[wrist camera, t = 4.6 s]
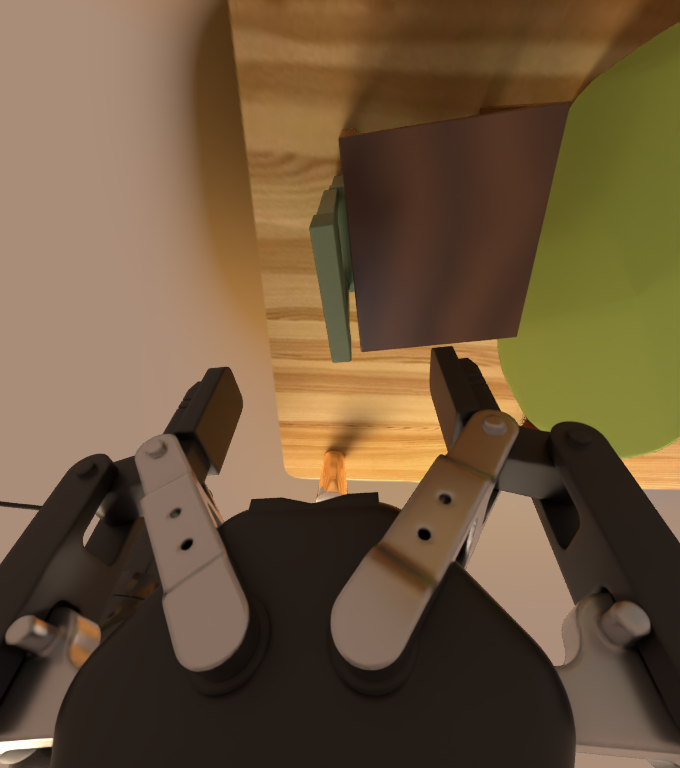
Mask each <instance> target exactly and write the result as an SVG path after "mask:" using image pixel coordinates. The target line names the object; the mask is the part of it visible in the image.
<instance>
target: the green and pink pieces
mask: <svg viewBox="0 0 680 768" xmlns="http://www.w3.org/2000/svg"><path fill="white" fill-rule="evenodd" d="M497 342H498V353H499V358H500V364H501V368H502V371H503V374H504V376H505V379H506V381H507V383H508V385H509V387H510V390H511V392H512V393H513V395H514V397H515V399H516V401H517V402H518V404H519V406H520V408H521V409H522V411H523V413H524V414H525V416H526V417H527V419H528V420H529V421H530V422H531V423H533V424H534V425H535V426H536V427H537V428H538V429H539V430H542V431H548V432H550V431H551V429H552V427H553V426H554V425H556V424H557V423H560V422H565V421H574V422H580V423H583V424H586V425H589V426H591V427H593V428H595V429H596V430H598V431H599V432H600V433H602V434H603V435H604V437H605V438H606V439H607V440H608V442H609V443H610V445H611V446H612V448H613V449H614V450H615V452H616V453H617V455H618V456H619V457H620V458H621V459H630V458H634V457H638V456H642V455H646V454H650V453H653V452H656V451H659V450H661V449H663V448H665V447H667V446H669V445H670V444H672V443H674V442H676V441H677V440H679V439H680V22H678V23H676V24H675V25H673V26H671V27H670V28H668V29H666V30H664V31H663V32H661V33H660V34H658V35H656V36H655V37H653V38H652V39H650V40H649V41H647V42H646V43H644V44H643V45H641V46H640V47H638V48H637V49H636V50H634V51H633V52H631V53H630V54H629V55H627V56H626V57H624V58H623V59H622V60H620V61H619V62H618V63H616V64H615V65H613V66H612V67H611V68H609V69H608V70H607V71H605V72H604V73H602V74H601V75H600V76H598V77H597V78H596V79H594V80H593V81H592V82H591V83H590V84H589V85H588V86H587V87H586V88H585V89H584V90H583V91H582V92H581V93H580V94H579V96H578V97H577V98H576V100H575V101H574V102H573V104H572V105H571V107H570V109H569V112H568V116H567V121H566V125H565V129H564V134H563V138H562V142H561V147H560V151H559V155H558V160H557V164H556V169H555V173H554V177H553V182H552V186H551V190H550V195H549V199H548V203H547V208H546V212H545V217H544V221H543V225H542V230H541V234H540V238H539V243H538V247H537V251H536V256H535V260H534V264H533V269H532V273H531V278H530V282H529V286H528V291H527V295H526V299H525V304H524V308H523V312H522V317H521V321H520V326H519V330H518V334H517V337H513V338H502V339H498V340H497Z"/></svg>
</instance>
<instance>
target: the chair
mask: <svg viewBox="0 0 680 768" xmlns="http://www.w3.org/2000/svg"><path fill="white" fill-rule="evenodd" d="M309 230H310V235H311V241H312V247H313V253H314V258H315V264H316V270H317V276H318V282H319V287H320V293H321V299H322V305H323V311H324V316H325V322H326V328H327V334H328V340H329V345H330V351H331V357H332V362H333V363H338V362H349V361H351V335H350V327H349V292H354V291H355V289H354V279H353V270H352V260H351V251H350V241H349V232H348V222H347V213H346V203H345V194H344V184H343V175H339V176H334V179H333V183H332V186H330V187H329V190H325V191H324V193H323V196H322V199H321V202H320V205H319V208H318V212H317V215H314V216H313V219H312V222H311V225H310V228H309Z"/></svg>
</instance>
